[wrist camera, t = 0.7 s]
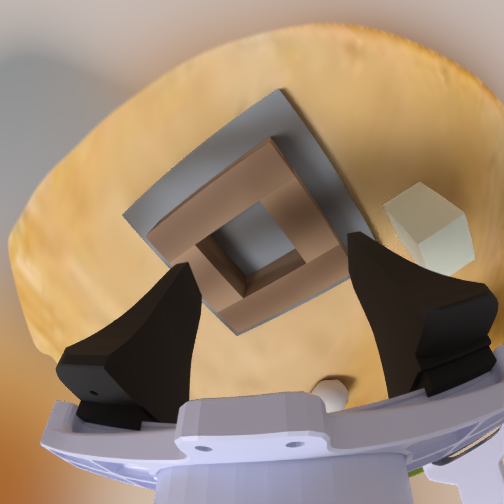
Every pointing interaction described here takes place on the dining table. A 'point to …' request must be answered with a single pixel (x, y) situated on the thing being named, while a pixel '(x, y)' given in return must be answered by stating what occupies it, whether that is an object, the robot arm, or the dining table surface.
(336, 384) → the tube
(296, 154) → the socket
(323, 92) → the dining table surface
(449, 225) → the peg
